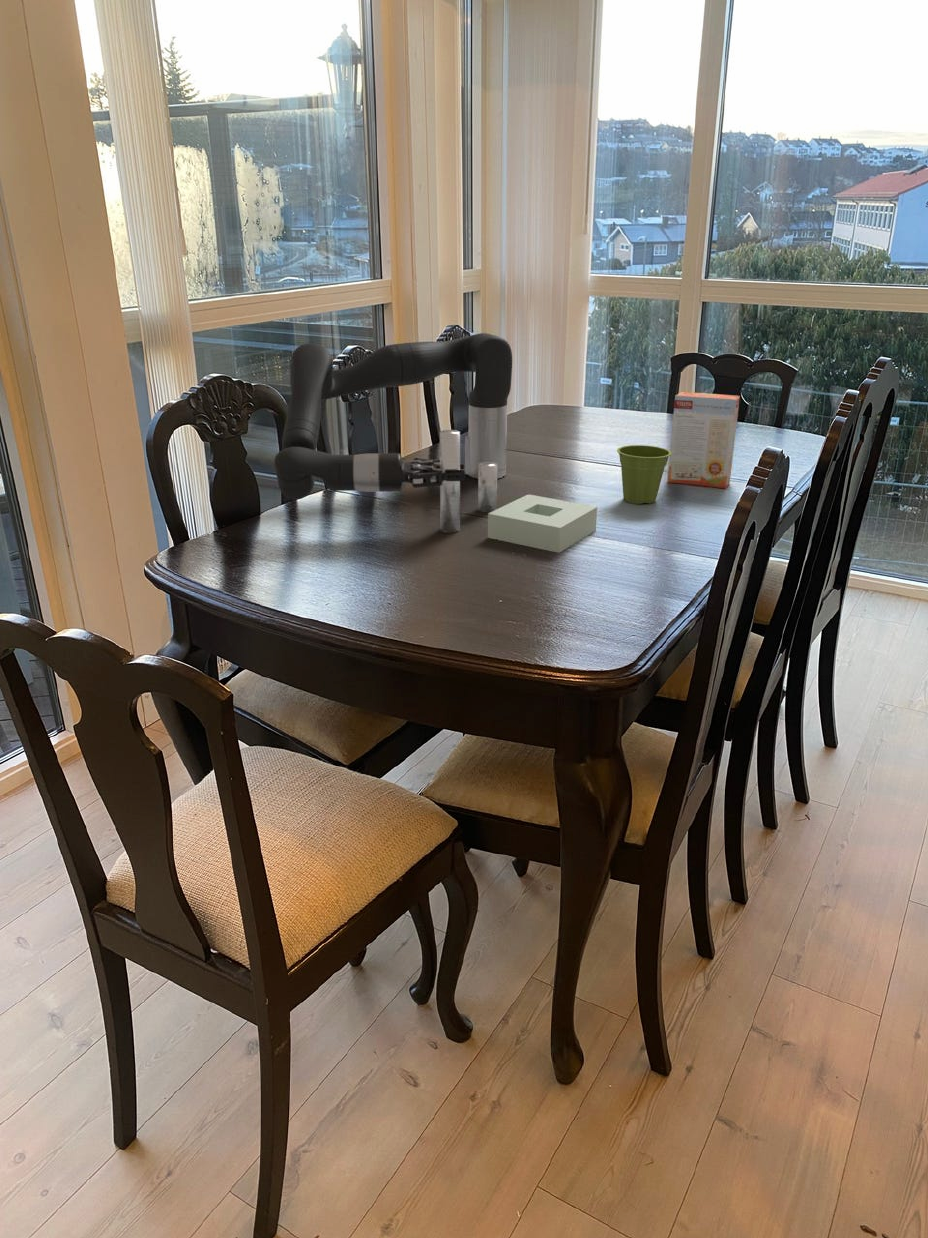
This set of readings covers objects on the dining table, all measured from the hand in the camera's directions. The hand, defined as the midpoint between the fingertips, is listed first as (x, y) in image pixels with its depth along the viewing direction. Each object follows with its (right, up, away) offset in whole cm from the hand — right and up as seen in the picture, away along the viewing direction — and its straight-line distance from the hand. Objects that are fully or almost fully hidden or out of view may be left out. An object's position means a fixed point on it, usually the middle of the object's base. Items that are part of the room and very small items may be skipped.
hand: (463, 471), depth 180 cm
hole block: (+16, -12, +2) cm, 20 cm away
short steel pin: (+5, -5, +18) cm, 19 cm away
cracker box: (+56, +3, +37) cm, 68 cm away
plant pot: (+40, -3, +24) cm, 47 cm away
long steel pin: (-3, -11, +5) cm, 12 cm away
